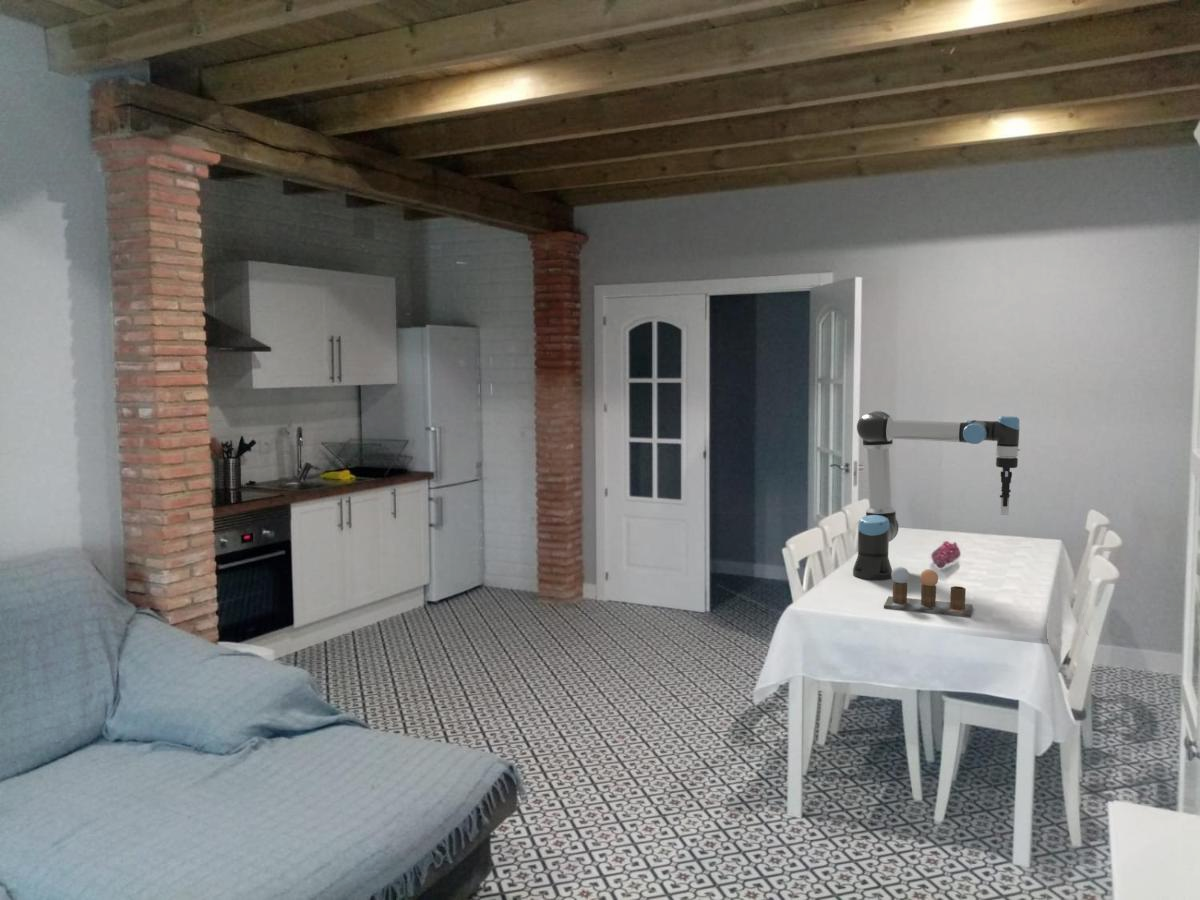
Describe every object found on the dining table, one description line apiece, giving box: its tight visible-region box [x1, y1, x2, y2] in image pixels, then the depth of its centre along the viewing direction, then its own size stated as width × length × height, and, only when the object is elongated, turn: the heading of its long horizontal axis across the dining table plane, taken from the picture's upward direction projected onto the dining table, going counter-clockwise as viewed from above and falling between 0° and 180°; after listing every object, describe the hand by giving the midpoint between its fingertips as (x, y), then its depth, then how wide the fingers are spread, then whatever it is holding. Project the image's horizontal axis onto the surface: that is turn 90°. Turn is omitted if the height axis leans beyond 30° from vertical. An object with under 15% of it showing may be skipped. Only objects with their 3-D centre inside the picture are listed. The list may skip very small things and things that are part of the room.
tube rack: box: [883, 581, 973, 618], centre depth 318 cm, size 28×13×8 cm, turn 65°
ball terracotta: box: [919, 569, 939, 587], centre depth 317 cm, size 6×6×6 cm
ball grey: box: [891, 566, 910, 584], centre depth 321 cm, size 6×6×6 cm
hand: (1004, 511), depth 351 cm, fingers open, 13 cm apart
